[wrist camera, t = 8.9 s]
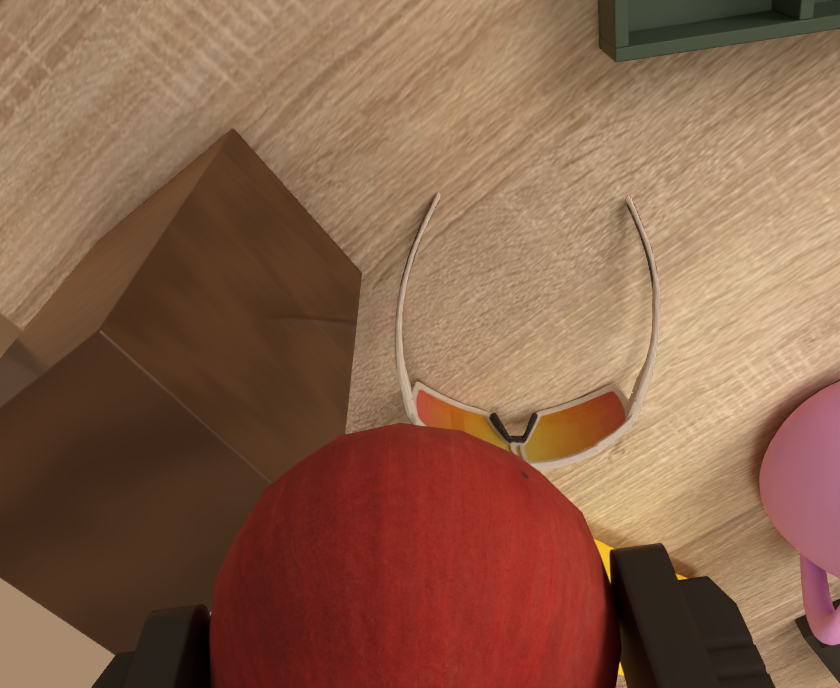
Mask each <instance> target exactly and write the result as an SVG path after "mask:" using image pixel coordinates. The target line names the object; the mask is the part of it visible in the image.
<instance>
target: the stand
mask: <svg viewBox="0 0 840 688" xmlns="http://www.w3.org/2000/svg"><path fill="white" fill-rule="evenodd" d="M361 277H362V273H361V272H360V271H359V269H358V268H357V267H356V266H355V265H354V264H353V263H352V262H351V260H350V259H349V258H348V257H347V256H346V255H345V254H344V253H343V251H342V250H341V249H340V248H339V247H338V246H337V245H336V243H335V242H334V241H333V240H332V239H331V238H330V237H329V236H328V234H327V233H326V232H325V231H324V230H323V229H322V228H321V227H320V225H319V224H318V223H317V222H316V221H315V220H314V219H313V218H312V216H311V215H310V214H309V213H308V212H307V211H306V210H305V208H304V207H303V206H302V205H301V204H300V203H299V202H298V201H297V199H296V198H295V197H294V196H293V195H292V194H291V193H290V192H289V190H288V189H287V188H286V187H285V186H284V185H283V184H282V183H281V181H280V180H279V179H278V178H277V177H276V176H275V175H274V174H273V172H272V171H271V170H270V169H269V168H268V167H267V166H266V164H265V163H264V162H263V161H262V160H261V159H260V158H259V157H258V155H257V154H256V153H255V152H254V151H253V150H252V149H251V148H250V146H249V145H248V144H247V143H246V142H245V141H244V140H243V139H242V137H241V136H240V135H239V134H238V133H237V132H236V131H235V129H231V130H230V131H229V132H228V133H227V134H225V135H224V136H223V137H222V138H221V139H219V140H218V141H217V142H216V143H215V144H213V145H212V146H211V147H210V148H209V149H207V150H206V151H205V152H204V153H203V154H201V155H200V156H199V157H198V158H197V159H195V160H194V161H193V162H192V163H191V164H189V165H188V166H187V167H186V168H185V169H183V170H182V171H181V172H180V173H179V174H177V175H176V176H175V177H174V178H173V179H172V180H170V181H169V182H168V183H167V184H166V185H164V186H163V187H162V188H161V189H160V190H158V191H157V192H156V193H155V194H154V195H152V196H151V197H150V198H149V199H148V200H146V201H145V202H144V203H143V204H142V205H140V206H139V207H138V208H137V209H136V210H134V211H133V212H132V213H131V214H130V215H128V216H127V217H126V218H125V219H124V220H122V221H121V222H120V223H119V224H118V225H116V226H115V227H114V228H113V229H112V230H110V231H109V232H108V233H107V234H106V235H104V236H103V237H102V238H101V239H100V240H98V241H97V242H96V243H95V245H94V246H93V247H92V248H91V249H90V251H89V252H88V253H87V254H86V255H85V257H84V258H83V259H82V260H81V262H80V263H79V264H78V265H77V266H76V268H75V269H74V270H73V271H72V272H71V274H70V275H69V276H68V277H67V278H66V280H65V281H64V282H63V283H62V284H61V286H60V287H59V288H58V289H57V290H56V292H55V293H54V294H53V295H52V296H51V298H50V299H49V300H48V301H47V303H46V304H45V305H44V306H43V307H42V309H41V310H40V311H39V312H38V313H37V315H36V316H35V317H34V318H33V319H32V321H31V322H30V323H29V324H28V325H27V327H26V328H25V329H24V330H23V331H22V333H21V334H20V335H19V336H18V337H17V339H16V340H15V341H14V342H13V344H12V345H11V346H10V347H9V348H8V350H7V351H6V352H5V353H4V354H3V356H2V357H1V358H0V578H1V579H3V580H4V581H6V582H7V583H9V584H10V585H12V586H13V587H15V588H16V589H18V590H19V591H21V592H22V593H24V594H25V595H27V596H28V597H30V598H31V599H32V600H34V601H35V602H37V603H39V604H40V605H41V606H43V607H44V608H46V609H47V610H49V611H50V612H52V613H53V614H55V615H56V616H58V617H59V618H61V619H62V620H64V621H65V622H67V623H68V624H70V625H71V626H73V627H74V628H75V629H77V630H79V631H80V632H81V633H83V634H85V635H86V636H87V637H89V638H90V639H92V640H93V641H95V642H96V643H98V644H99V645H101V646H102V647H104V648H105V649H107V650H108V651H110V652H111V653H113V654H114V655H116V654H117V653H122V652H129V651H135V650H136V647H137V644H138V641H139V638H140V635H141V632H142V629H143V626H144V623H145V620H146V618H147V616H148V615H149V614H150V612H152V611H154V610H161V609H168V608H175V607H183V606H190V605H197V604H203V605H205V606H206V607H207V609H208V611H209V613H210V612H212V602H213V591H214V582H215V580H216V577H217V575H218V573H219V571H220V568H221V566H222V564H223V562H224V560H225V557H226V555H227V553H228V551H229V549H230V546H231V544H232V542H233V540H234V538H235V536H236V534H237V533H238V531H239V529H240V528H241V526H242V525H243V523H244V521H245V520H246V518H247V517H248V515H249V513H250V512H251V510H252V509H253V507H254V505H255V504H256V502H257V500H258V499H259V497H260V496H261V494H262V492H263V491H264V490H265V489H266V488H267V487H268V486H269V485H271V484H272V483H273V482H274V481H275V480H276V479H278V478H279V477H280V476H281V475H282V474H284V473H285V472H286V471H287V470H288V469H289V468H291V467H292V466H293V465H294V464H296V463H297V462H299V461H301V460H302V459H304V458H305V457H307V456H308V455H310V454H312V453H313V452H315V451H316V450H318V449H320V448H321V447H323V446H324V445H326V444H328V443H329V442H331V441H332V440H334V439H335V438H337V437H339V436H341V435H345V431H346V422H347V412H348V402H349V393H350V383H351V373H352V364H353V354H354V345H355V335H356V325H357V316H358V306H359V297H360V287H361Z"/></svg>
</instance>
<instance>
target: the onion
mask: <svg viewBox="0 0 840 688" xmlns="http://www.w3.org/2000/svg"><path fill="white" fill-rule="evenodd" d="M621 653H622V643H621V633H620V623H619V616H618V611H617V606H616V600H615V595H614V592H613V589H612V586H611V583H610V580H609V578H608V575H607V572H606V569H605V566H604V563H603V561H602V558H601V555H600V552H599V550H598V548H597V545H596V543H595V541H594V539H593V536H592V534H591V532H590V529H589V527H588V525H587V522H586V520H585V518H584V516H583V513H582V512H581V511H580V510H579V509H578V508H577V507H576V506H575V505H574V504H573V503H572V502H570V501H569V500H568V499H567V498H566V497H565V496H564V495H563V494H562V493H561V492H560V491H559V490H558V489H557V488H556V487H555V486H554V485H553V484H552V483H551V482H550V481H549V480H548V479H547V478H546V477H545V476H544V475H542V474H541V473H540V472H539V471H538V470H537V469H536V468H534V467H533V466H531V465H530V464H529V463H527V462H526V461H524V460H523V459H522V458H520V457H519V456H517V455H516V454H514V453H512V452H510V451H507V450H505V449H503V448H500V447H498V446H496V445H494V444H491V443H489V442H487V441H484V440H482V439H480V438H478V437H475V436H473V435H471V434H468V433H466V432H464V431H461V430H453V429H445V428H436V427H428V426H419V425H411V424H403V423H398V424H393V425H388V426H384V427H379V428H374V429H369V430H365V431H360V432H355V433H351V434H346V435H341V436H339V437H337V438H335V439H334V440H332V441H331V442H329V443H328V444H326V445H324V446H323V447H321V448H320V449H318V450H316V451H315V452H313V453H312V454H310V455H308V456H307V457H305V458H304V459H302V460H301V461H299V462H297V463H296V464H294V465H293V466H292V467H291V468H289V469H288V470H287V471H286V472H285V473H284V474H282V475H281V476H280V477H279V478H278V479H276V480H275V481H274V482H273V483H272V484H271V485H269V486H268V487H267V488H266V489H265V490H264V491H263V492H262V494H261V496H260V497H259V499H258V500H257V502H256V504H255V505H254V507H253V509H252V510H251V512H250V513H249V515H248V517H247V518H246V520H245V521H244V523H243V525H242V526H241V528H240V529H239V531H238V533H237V534H236V536H235V538H234V540H233V542H232V544H231V546H230V549H229V551H228V553H227V555H226V557H225V560H224V562H223V564H222V566H221V568H220V571H219V573H218V575H217V577H216V580H215V582H214V591H213V602H212V612H211V623H210V686H211V688H616V682H617V676H618V670H619V664H620V658H621Z"/></svg>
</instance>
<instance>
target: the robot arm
mask: <svg viewBox="0 0 840 688" xmlns="http://www.w3.org/2000/svg"><path fill="white" fill-rule="evenodd" d="M609 557H610V579H611V586H612V589H613V592H614V595H615V600H616V606H617V611H618V616H619V623H620V633H621V643H622V653H621V658H620V662H621V666H622V670H623V673H624V677H625V680H626V684H627V687H628V688H775V686H774V684H773V682H772V679H771V677H770V675H769V674H767V672H766V667H765V664H764V662H763V660H762V658H761V656H760V654H759V651H758V649H757V647H756V645H754V644H753V641H752V636H751V634H750V632H749V630H748V628H747V626H746V624H745V621H744V619H743V617H742V615H741V613H740V611H739V609H738V606H737V604H736V603H735V602H734V601H733V600H732V599H731V598H730V597H729V596H728V595H727V594H726V593H725V592H724V591H722V590H721V589H720V588H719V587H718V586H717V585H716V584H715V583H714V582H713V581H712V580H711V579H710V578H709V577H708V576H704V577H696V578H689V579H681V580H678V578H677V576H676V573H675V571H674V568H673V566H672V563H671V561H670V558H669V556H668V553H667V551H666V549H665V547H664V546H663V544H661V543H657V544H649V545H642V546H635V547H627V548H620V549H612V550H610V555H609ZM210 623H211V615H210V613H209V611H208V609H207V607H206V606H205V605H203V604H197V605H190V606H183V607H175V608H168V609H161V610H154V611H152V612H150V614H149V615H148V616H147V618H146V620H145V623H144V626H143V629H142V632H141V635H140V638H139V641H138V644H137V647H136V650H135V651H129V652H122V653H117V654H116V656H115V657H114V658H113V660H112V661H111V662H110V664H109V665H108V666H107V667H106V669H105V670H104V671H103V673H102V674H101V675H100V677H99V678H98V680H97V681H96V682H95V683H94V685H93V686H92V688H211V686H210Z"/></svg>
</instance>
